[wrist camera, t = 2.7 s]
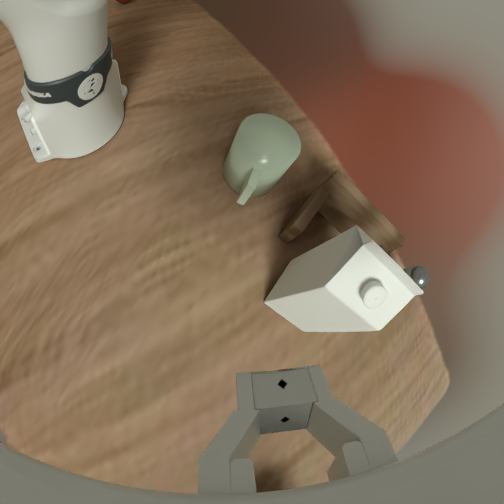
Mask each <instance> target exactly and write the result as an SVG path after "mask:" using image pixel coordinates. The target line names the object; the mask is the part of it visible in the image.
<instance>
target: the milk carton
mask: <svg viewBox="0 0 504 504" xmlns="http://www.w3.org/2000/svg"><path fill="white" fill-rule="evenodd" d="M420 294H423V291H422V289H421V288H420V287H419V286H418V285H417V284H416V283H415V282H414V281H413V280H412V279H411V278H410V277H409V276H408V275H407V274H406V273H405V272H404V271H403V269H402V268H401V267H400V266H399V265H398V264H397V263H396V262H395V261H394V260H393V259H392V258H391V257H390V256H389V255H388V254H387V253H386V252H385V251H384V250H383V249H382V248H381V247H380V246H378V245H377V244H376V243H375V242H374V241H373V240H372V239H371V238H370V237H369V236H368V235H367V234H366V233H365V232H364V231H363V230H362V229H361V228H359V227H358V226H357V225H356V226H354V227H352V228H350V229H349V230H347V231H345V232H343V233H341V234H339V235H338V236H336V237H334V238H332V239H330V240H328V241H326V242H325V243H323V244H321V245H319V246H317V247H315V248H313V249H311V250H309V251H308V252H306V253H304V254H302V255H300V256H298V257H296V258H294V259H292V260H291V261H290V262H289V264H288V265H287V267H286V269H285V270H284V272H283V273H282V275H281V276H280V278H279V279H278V281H277V283H276V284H275V286H274V287H273V289H272V290H271V292H270V293H269V295H268V296H267V298H266V299H265V301H264V303H265V304H266V305H268V306H269V307H270V308H272V309H273V310H274V311H276V312H277V313H278V314H280V315H281V316H282V317H284V318H285V319H287V320H288V321H289V322H291V323H292V324H294V325H295V326H296V327H298V328H299V329H300V330H302V331H304V332H355V331H378V330H381V329H382V328H383V327H384V326H385V325H386V324H387V323H388V322H389V321H390V320H391V319H392V318H393V317H394V316H395V315H396V314H397V313H398V312H399V311H400V310H401V309H402V308H403V307H404V306H405V305H406V304H407V303H408V302H409V301H410V300H411V299H412V298H413V297H414V296H415V295H420Z"/></svg>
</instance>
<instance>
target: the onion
mask: <svg viewBox="0 0 504 504" xmlns="http://www.w3.org/2000/svg"><path fill="white" fill-rule="evenodd" d="M116 1H118V2H120V3H122V4H125V3H127V2H128V1H129V0H116Z"/></svg>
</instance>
